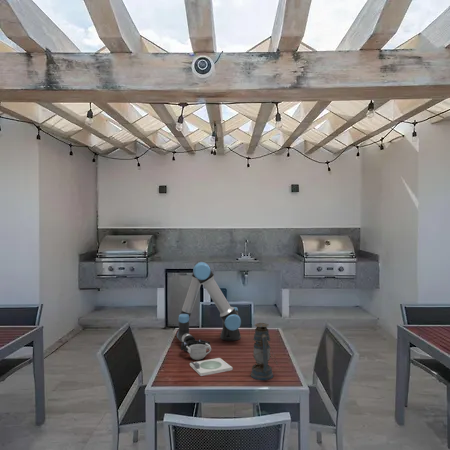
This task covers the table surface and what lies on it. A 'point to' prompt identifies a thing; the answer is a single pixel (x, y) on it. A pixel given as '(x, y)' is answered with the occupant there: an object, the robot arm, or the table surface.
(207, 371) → the record player
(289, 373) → the table surface
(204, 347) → the teacup
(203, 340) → the robot arm
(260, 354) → the lantern
